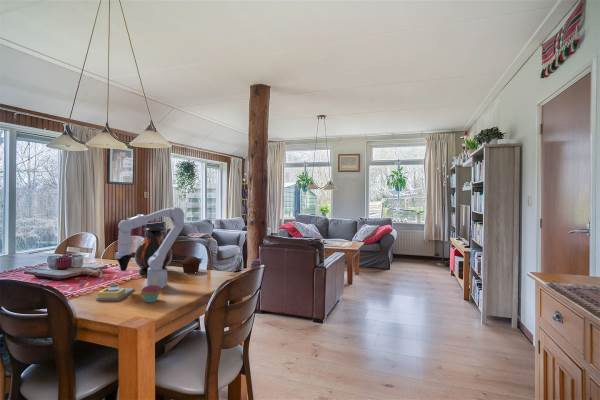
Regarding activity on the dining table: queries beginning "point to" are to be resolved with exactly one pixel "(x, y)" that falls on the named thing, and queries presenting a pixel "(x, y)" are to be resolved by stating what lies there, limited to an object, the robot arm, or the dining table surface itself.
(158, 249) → the robot arm
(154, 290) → the cupcake
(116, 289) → the cart
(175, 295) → the dining table surface
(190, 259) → the muffin
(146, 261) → the amphora vase
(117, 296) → the dock
